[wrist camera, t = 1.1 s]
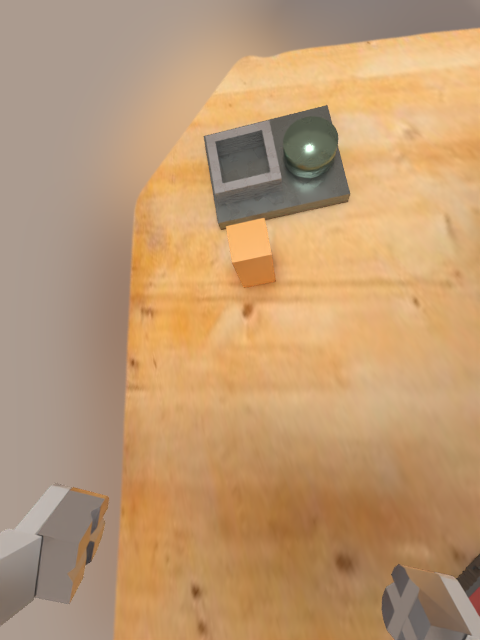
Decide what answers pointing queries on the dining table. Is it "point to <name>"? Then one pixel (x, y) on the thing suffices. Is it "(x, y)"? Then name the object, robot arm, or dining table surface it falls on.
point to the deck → (276, 167)
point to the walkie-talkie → (472, 583)
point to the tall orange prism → (251, 252)
